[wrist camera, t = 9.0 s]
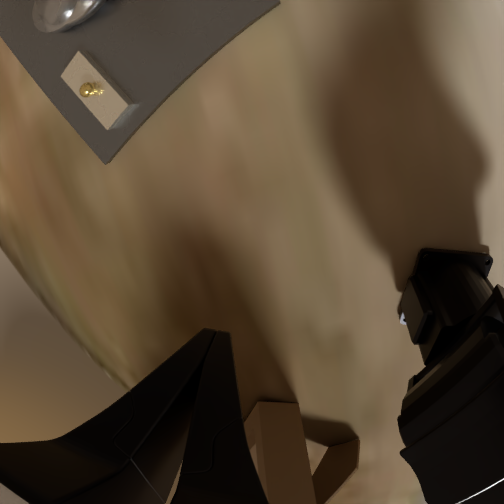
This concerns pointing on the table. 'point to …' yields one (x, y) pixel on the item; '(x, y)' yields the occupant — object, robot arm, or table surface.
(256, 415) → the photo frame
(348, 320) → the table surface
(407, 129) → the table surface
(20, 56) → the stand plate
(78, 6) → the brown cylinder with ball
